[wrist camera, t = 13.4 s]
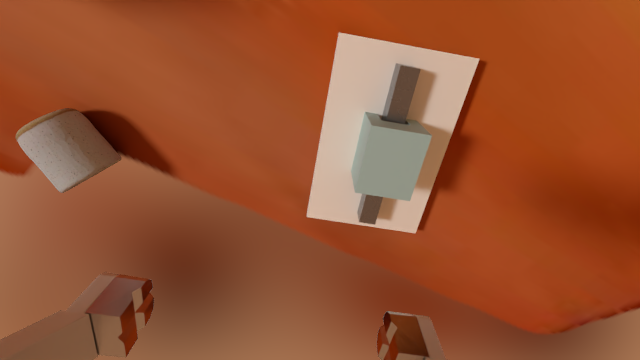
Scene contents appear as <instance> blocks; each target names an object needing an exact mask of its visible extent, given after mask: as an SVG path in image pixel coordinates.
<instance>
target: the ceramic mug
mask: <svg viewBox="0 0 640 360" xmlns="http://www.w3.org/2000/svg"><path fill="white" fill-rule="evenodd" d="M16 139H17V141H18V143H19V145H20V146H21V148H22V149H23V151H24V152H25V153H26V154H27V155H28V156H29V158H30V159H31V160H32V161H33V162H34V163H35V164H36V165H37V166H38V167H39V168H40V170H41V171H42V172H43V173H44V174H45V176H46V177H47V178H48V179H49V180H50V181H51V183H52V184H53V185H54V186H55V187H56V189H57V190H58V191H60V192H61V193H63V192H66V191H68V190H69V189H71V188H73V187H75V186H77V185H78V184H80V183H82V182H83V181H85V180H87V179H89V178H90V177H92V176H94V175H96V174H98V173H99V172H101V171H103V170H104V169H106V168H108V167H110V166H111V165H113V164H115V163H117V162H118V161H120V160H121V157H120V155H119V154H118V153H117V152H116V151H115V150H114V149H113V148H112V146H111V145H110V144H109V143H108V142H107V141H106V139H105V138H104V137H103V136H102V135H101V134H100V133H99V132H98V131H97V130H96V128H95V127H94V126H93V125H92V123H91V122H90V121H89V120H88V119H87V118H86V117H85V116H84V115H83V114H82V113H80V112H79V111H77V110H76V109H71V108H66V109H61V110H57V111H54V112H52V113H49V114H46V115H44V116H42V117H39V118H37V119H35V120H33V121H31V122H30V123H28V124H26V125H25V126H23V127H22V128H21V129H20V130H19V131H18V132H17V134H16Z"/></svg>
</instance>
